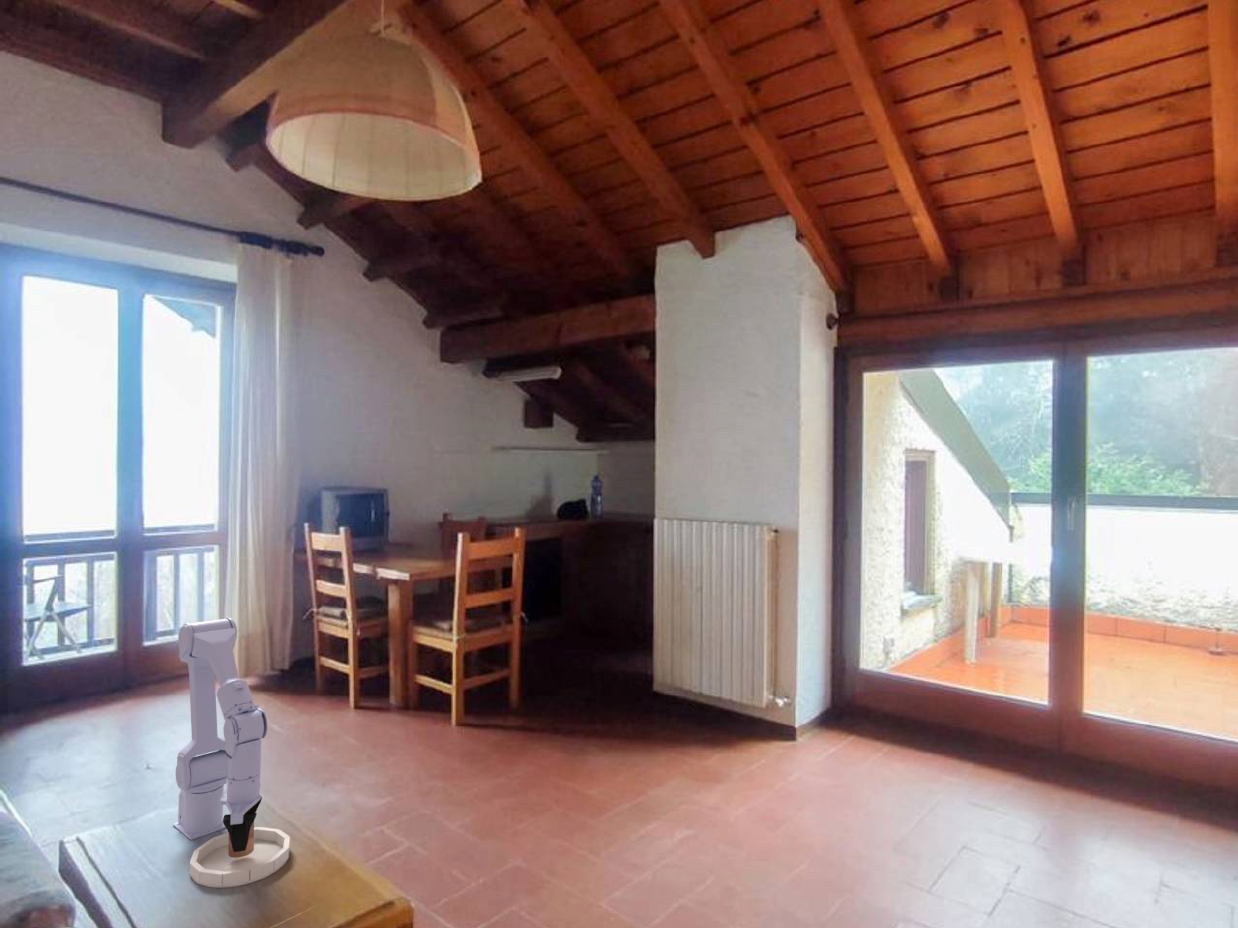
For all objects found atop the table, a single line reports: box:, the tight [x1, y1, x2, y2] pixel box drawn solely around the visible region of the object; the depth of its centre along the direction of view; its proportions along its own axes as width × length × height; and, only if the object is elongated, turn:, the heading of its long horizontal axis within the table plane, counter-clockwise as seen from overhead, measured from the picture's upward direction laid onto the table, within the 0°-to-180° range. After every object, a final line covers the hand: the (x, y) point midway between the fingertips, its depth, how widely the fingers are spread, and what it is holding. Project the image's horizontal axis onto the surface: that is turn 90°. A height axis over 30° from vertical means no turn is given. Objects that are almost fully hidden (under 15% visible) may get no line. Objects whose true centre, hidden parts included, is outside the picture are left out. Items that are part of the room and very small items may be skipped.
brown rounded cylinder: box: [228, 820, 255, 858], centre depth 141 cm, size 4×4×6 cm
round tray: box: [188, 826, 291, 889], centre depth 141 cm, size 17×17×3 cm
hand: (241, 843), depth 141 cm, fingers closed on brown rounded cylinder, 4 cm apart
